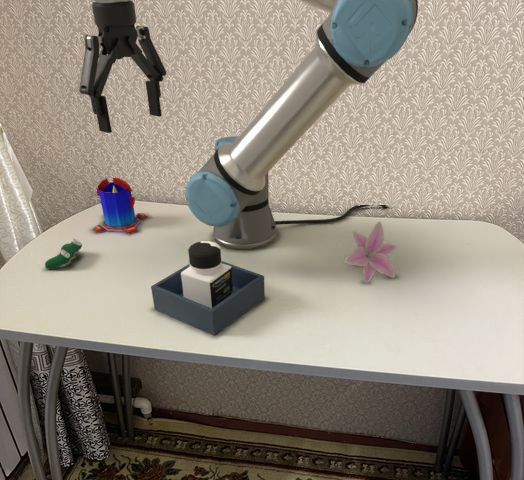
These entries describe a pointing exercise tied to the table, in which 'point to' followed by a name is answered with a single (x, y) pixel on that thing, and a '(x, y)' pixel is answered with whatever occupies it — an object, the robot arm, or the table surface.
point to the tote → (200, 316)
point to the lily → (372, 253)
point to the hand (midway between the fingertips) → (131, 123)
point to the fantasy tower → (118, 207)
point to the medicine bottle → (206, 275)
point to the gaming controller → (64, 255)
